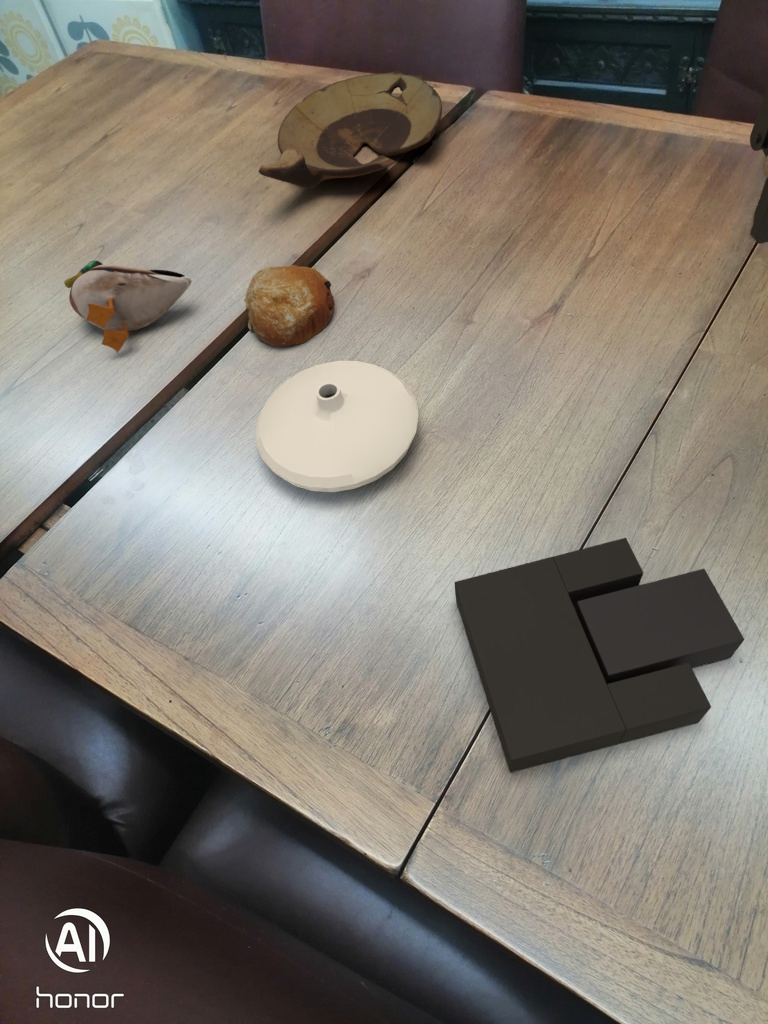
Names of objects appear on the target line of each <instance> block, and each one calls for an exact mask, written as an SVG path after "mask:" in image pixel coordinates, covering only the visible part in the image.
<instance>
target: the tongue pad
mask: <svg viewBox="0 0 768 1024" xmlns="http://www.w3.org/2000/svg"><path fill="white" fill-rule="evenodd" d="M575 611H576V613H577V616H578V618H579V620H580V623H581V625H582V627H583V630H584V632H585V634H586V637H587V639H588V641H589V644H590V646H591V648H592V651H593V653H594V656H595V658H596V660H597V663H598V665H599V667H600V670H601V672H602V674H603V677H604V679H605V681H606V684H609V683H613V682H617V681H621V680H625V679H628V678H632V677H636V676H640V675H644V674H648V673H651V672H655V671H659V670H663V669H667V668H670V667H674V666H678V665H682V664H686V663H689V664H690V666H691V668H692V669H694V668H698V667H701V666H706V665H709V664H713V663H716V662H717V663H718V662H721V661H725V660H728V659H731V658H732V657H733V655H734V654H735V653H736V652H737V650H738V649H739V647H740V646H741V645H742V643H743V642H744V641H745V638H744V636H743V634H742V633H741V630H740V629H739V627H738V626H737V623H736V622H735V620H734V618H733V617H732V615H731V613H730V611H729V609H728V608H727V606H726V604H725V602H724V600H723V599H722V597H721V595H720V594H719V592H718V590H717V588H716V586H715V584H714V583H713V581H712V580H711V578H710V576H709V574H708V572H707V571H706V569H705V568H701V569H697V570H694V571H693V570H692V571H689V572H685V573H682V574H678V575H677V574H676V575H673V576H669V577H666V578H663V579H658V580H655V581H650V582H646V583H643V584H639V586H635V587H631V588H627V589H623V590H620V591H616V592H612V593H608V594H604V595H600V596H596V597H593V598H589V599H585V600H581V601H578V602H577V605H576V609H575Z"/></svg>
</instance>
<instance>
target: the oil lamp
mask: <svg viewBox="0 0 768 1024" xmlns="http://www.w3.org/2000/svg"><path fill="white" fill-rule="evenodd" d="M397 88H399V91H401V93H400V95H399V96H394V95H393V92H394V91H395V90H396V89H397ZM442 113H443V104H442V98H441V96H440V94H439V93H438V92H437V90H436V89H434V87H433V86H432V85H431V84H430V83H428V82H427V81H426V80H424V76H422V75H421V74H418V75H412V74H405V73H403V72H401V70H396V71H390V72H385V73H380V72H379V73H370V74H366V75H358V76H353V77H349V78H346V79H342V80H338V81H335V82H333V83H329V84H328V85H325V86H324V87H322V88H319V89H316V90H314V91H312V92H311V93H309V94H308V95H306V96H305V97H304V98H303V99H302V101H300V102H298V103H296V104H295V105H294V106H293V107H292V108H291V109H290V110H289V112H288V113H287V115H286V116H285V117H284V119H283V120H282V122H281V123H280V126H279V128H278V133H277V147H278V150H279V153H280V157H279V158H278V159H277V160H276V161H275V162H272V163H267V164H262V165H261V166H259V169H258V173H259V174H260V175H261V176H263V177H267V178H270V179H273V180H277V181H279V182H284V183H288V184H290V185H294V186H297V187H299V188H304V189H311V188H315V187H316V186H318V185H319V184H320V183H321V182H323V181H325V180H330V179H331V180H332V179H342V178H343V179H346V178H347V179H348V178H355V177H359V176H360V177H361V176H364V175H368V174H371V173H375V172H377V171H378V172H379V171H381V170H383V169H386V168H388V167H390V166H392V165H395V163H396V161H395V160H393V159H392V158H389V157H393V156H398V155H400V154H405V153H408V152H410V151H412V150H414V149H417V148H419V147H422V146H423V145H425V144H427V143H428V142H430V141H431V140H432V139H433V137H434V135H435V134H436V132H437V131H438V129H439V125H440V123H441V120H442V115H443V114H442ZM365 144H366V145H368V147H370V148H371V149H372V150H374V151H375V153H377V154H379V155H378V156H377V157H376V158H373V159H372V160H371V161H369V162H366V163H362V162H360V161H359V160H358V158H355V157H354V156H355V155H356V154H358V152H359V150H360V149H361V148H362V146H364V145H365Z"/></svg>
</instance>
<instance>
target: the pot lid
mask: <svg viewBox="0 0 768 1024" xmlns="http://www.w3.org/2000/svg"><path fill="white" fill-rule="evenodd" d="M419 416H420V413H419V408H418V403H417V399H416V397H415V395H414V394H413V392H412V390H411V388H410V387H409V386H408V384H407V383H406V382H405V381H404V380H402V379H401V378H400V377H399V376H398V375H396V374H395V373H394V372H391V371H389V370H387V369H386V368H384V367H381V366H379V365H377V364H373V363H370V362H369V363H368V362H365V361H364V362H363V361H360V360H335V361H330V362H329V361H328V362H324V363H319V364H316V365H313V366H310V367H309V368H304V369H302V370H301V371H299V372H297V373H296V374H294V375H292V376H291V377H289V378H288V379H286V380H285V381H284V382H283V383H281V385H279V386H278V387H277V388H276V389H275V390H274V391H273V392H272V394H270V396H269V397H268V399H267V401H266V402H265V404H264V405H263V407H262V408H261V410H260V412H259V415H258V418H257V422H256V424H255V444H256V448H257V450H258V452H259V455H260V457H261V459H262V460H263V462H264V463H265V464H266V465H267V467H268V468H269V469H270V470H271V471H272V472H273V473H274V474H276V475H277V476H278V477H279V478H281V479H283V480H284V481H286V482H287V483H289V484H291V485H293V486H295V487H298V488H301V489H304V490H308V491H312V492H322V493H323V492H324V493H337V492H338V493H339V492H342V491H349V490H354V489H355V490H356V489H358V488H360V487H363V486H366V485H368V484H370V483H373V482H376V481H377V480H378V479H380V478H382V477H383V476H384V475H387V473H389V472H390V471H392V470H393V469H394V468H395V467H396V466H397V465H398V464H399V463H400V462H401V460H402V459H403V458H404V457H405V456H406V455H407V454H408V451H409V449H410V447H411V445H412V443H413V441H414V438H415V436H416V433H417V430H418V424H419V423H418V422H419Z"/></svg>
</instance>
